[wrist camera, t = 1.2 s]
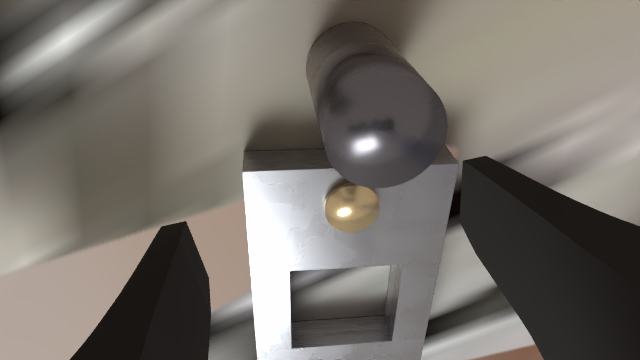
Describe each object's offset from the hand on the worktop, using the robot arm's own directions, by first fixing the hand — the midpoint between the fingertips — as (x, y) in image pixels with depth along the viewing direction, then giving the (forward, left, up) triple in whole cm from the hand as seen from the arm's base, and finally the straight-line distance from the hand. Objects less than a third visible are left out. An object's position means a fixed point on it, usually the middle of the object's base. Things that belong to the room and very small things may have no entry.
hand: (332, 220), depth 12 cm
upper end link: (-2, +10, -10) cm, 15 cm away
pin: (-2, -1, -11) cm, 11 cm away
